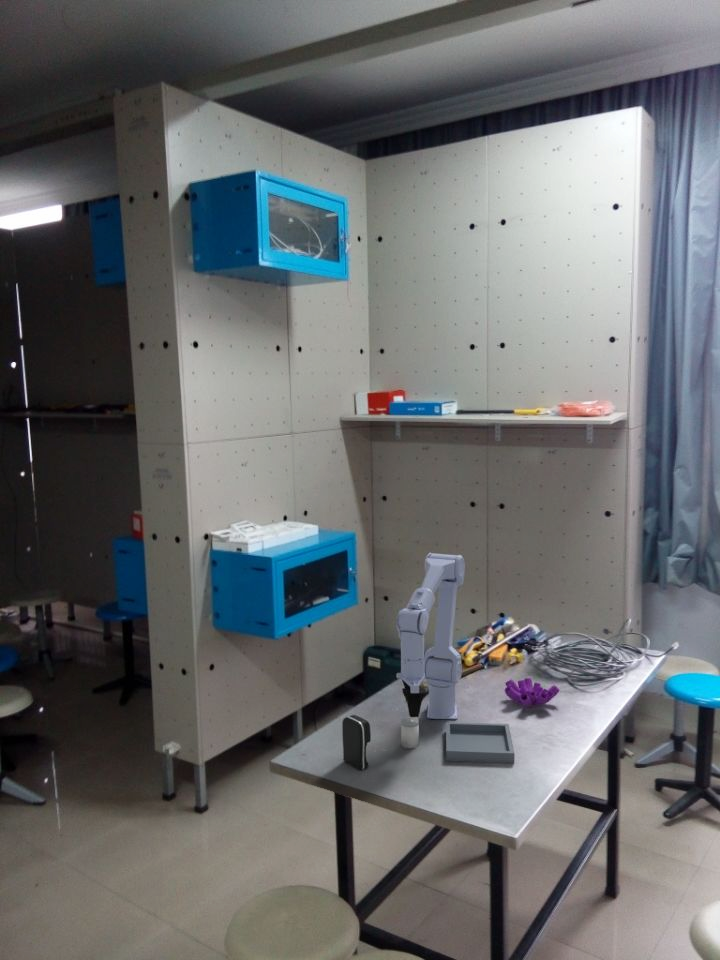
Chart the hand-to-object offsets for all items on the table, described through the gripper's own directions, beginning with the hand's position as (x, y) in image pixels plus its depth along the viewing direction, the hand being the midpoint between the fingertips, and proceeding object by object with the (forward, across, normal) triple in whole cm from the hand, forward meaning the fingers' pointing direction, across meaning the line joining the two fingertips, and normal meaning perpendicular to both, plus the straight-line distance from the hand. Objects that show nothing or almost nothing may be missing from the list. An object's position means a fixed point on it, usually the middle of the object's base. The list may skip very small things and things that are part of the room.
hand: (413, 709), depth 188 cm
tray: (+9, +1, +16) cm, 19 cm away
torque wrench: (+10, -42, +14) cm, 45 cm away
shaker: (+9, -1, -1) cm, 9 cm away
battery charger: (+10, +9, -14) cm, 19 cm away
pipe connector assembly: (+10, -24, +34) cm, 43 cm away
